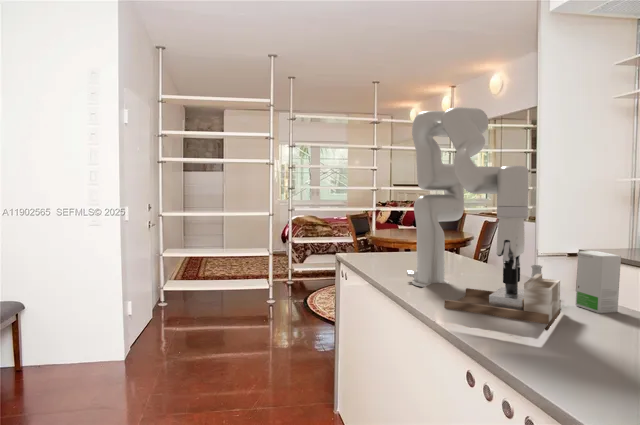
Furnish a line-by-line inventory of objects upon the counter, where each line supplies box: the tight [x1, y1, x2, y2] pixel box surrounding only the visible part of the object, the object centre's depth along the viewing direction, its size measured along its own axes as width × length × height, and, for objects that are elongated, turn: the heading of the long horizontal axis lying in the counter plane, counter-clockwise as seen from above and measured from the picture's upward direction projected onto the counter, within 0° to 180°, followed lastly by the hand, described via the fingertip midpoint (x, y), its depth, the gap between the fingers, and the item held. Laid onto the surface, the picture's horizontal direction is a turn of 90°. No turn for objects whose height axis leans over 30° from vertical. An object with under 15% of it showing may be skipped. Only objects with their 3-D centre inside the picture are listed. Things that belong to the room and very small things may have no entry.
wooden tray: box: [444, 273, 562, 331], centre depth 116 cm, size 25×18×10 cm
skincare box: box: [575, 250, 622, 314], centre depth 119 cm, size 8×7×16 cm
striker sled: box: [489, 259, 524, 311], centre depth 115 cm, size 8×12×13 cm, turn 143°
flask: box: [530, 264, 543, 279], centre depth 132 cm, size 7×7×10 cm
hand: (511, 281), depth 115 cm, fingers closed on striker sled, 3 cm apart
